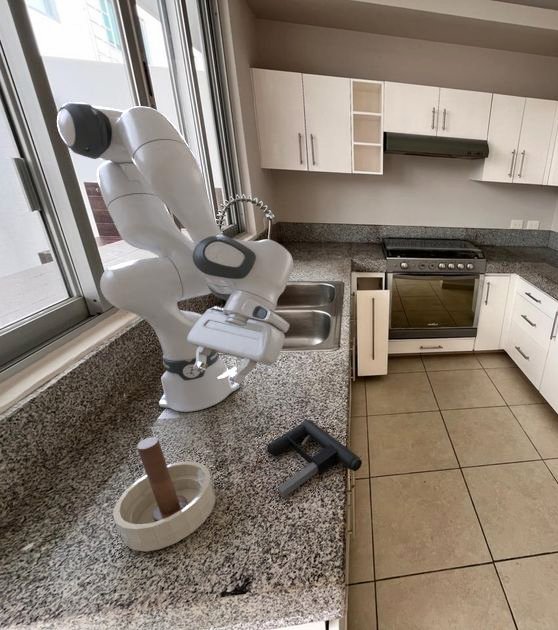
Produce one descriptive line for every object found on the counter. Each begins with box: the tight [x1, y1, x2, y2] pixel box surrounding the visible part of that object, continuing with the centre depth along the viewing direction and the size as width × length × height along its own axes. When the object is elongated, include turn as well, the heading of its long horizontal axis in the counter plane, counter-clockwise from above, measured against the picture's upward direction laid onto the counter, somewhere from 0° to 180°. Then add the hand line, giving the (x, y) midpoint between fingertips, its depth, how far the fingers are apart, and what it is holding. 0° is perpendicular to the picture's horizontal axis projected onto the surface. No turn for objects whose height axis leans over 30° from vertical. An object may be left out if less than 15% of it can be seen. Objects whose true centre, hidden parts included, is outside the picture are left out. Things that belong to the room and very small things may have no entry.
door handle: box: [266, 419, 363, 499], centre depth 73 cm, size 3×20×16 cm
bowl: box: [112, 460, 217, 552], centre depth 60 cm, size 14×14×6 cm
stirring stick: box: [136, 436, 188, 522], centre depth 58 cm, size 5×5×16 cm
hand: (216, 376), depth 66 cm, fingers open, 8 cm apart
